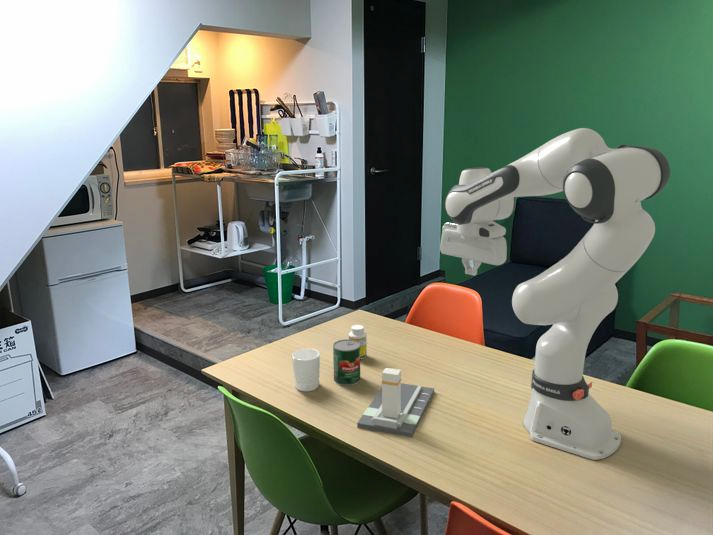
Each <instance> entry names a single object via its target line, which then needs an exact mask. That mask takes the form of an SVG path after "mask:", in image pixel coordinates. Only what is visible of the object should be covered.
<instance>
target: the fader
mask: <svg viewBox="0 0 713 535" xmlns="http://www.w3.org/2000/svg"><path fill="white" fill-rule="evenodd" d="M401 383H402V370H401V369H399V368H398V369H397V368H390V367H385V368H384V369H383V371H382V372H381V388H382V416H386V417H391V418H398V417H399V415H400V413H401Z"/></svg>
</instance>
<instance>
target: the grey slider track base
mask: <svg viewBox="0 0 713 535" xmlns="http://www.w3.org/2000/svg"><path fill="white" fill-rule="evenodd" d="M434 394H435V387H433V388H432V387H429V386H428V387H427V386H421V385H416V384H409V383H404V382H403V383H402V382H401V413H400V415H399V417H398V418H391V417H386V416H382V387H381V388H380V390H379V391H378V392H377V394H376V395H375V396H374V397H373V400H372V401H371V403H370V404H369V406H367V408H366V409H365V411H364V412H363V414H362V415H361V417H360V418H359V420H358V421H357V423H356V424H357V425H356V426H357V428H360V429H365V430H371V431H376V432H381V433H386V434H392V435H396V436H403V437H406V438H407V437H408V438H413V436H414V434H415V431H416V430H417V427H418V426H419V424H420V422H421V419H422V418H423V416H424V413H425V412H426V410H427V408H428V406H429V403H430V401H431V399H432V398H433V396H434Z"/></svg>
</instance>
